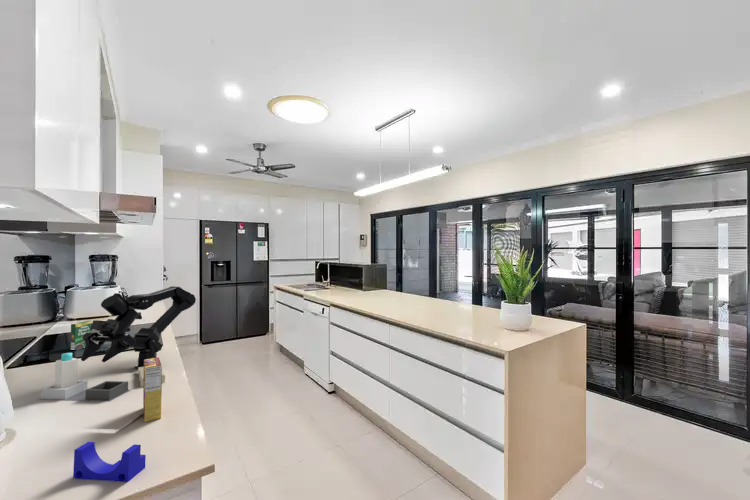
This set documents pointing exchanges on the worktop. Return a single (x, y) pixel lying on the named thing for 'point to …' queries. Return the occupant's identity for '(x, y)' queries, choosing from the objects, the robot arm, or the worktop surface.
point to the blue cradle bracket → (97, 469)
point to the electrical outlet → (141, 375)
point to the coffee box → (79, 334)
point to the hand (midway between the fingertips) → (92, 361)
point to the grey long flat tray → (86, 391)
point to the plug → (66, 371)
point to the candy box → (152, 389)
